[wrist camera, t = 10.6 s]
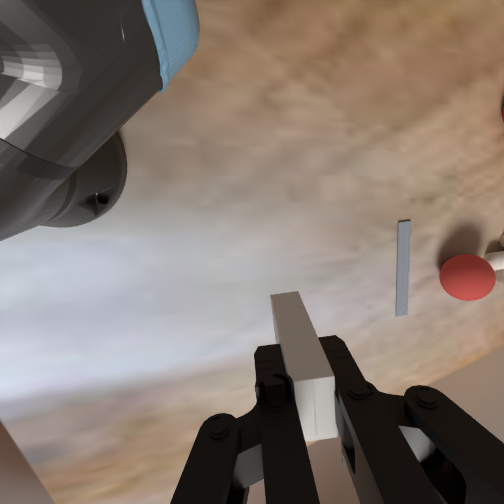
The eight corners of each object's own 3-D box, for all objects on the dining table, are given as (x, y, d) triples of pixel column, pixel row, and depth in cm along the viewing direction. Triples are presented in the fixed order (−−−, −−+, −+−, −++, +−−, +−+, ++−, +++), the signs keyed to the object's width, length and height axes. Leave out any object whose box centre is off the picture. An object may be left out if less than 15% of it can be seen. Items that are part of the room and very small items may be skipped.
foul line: (397, 222, 41) (398, 222, 41) (410, 220, 41) (410, 221, 41) (395, 315, 46) (396, 316, 45) (406, 314, 46) (407, 315, 46)
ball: (489, 246, 41) (437, 246, 43) (509, 268, 36) (449, 267, 38) (480, 286, 44) (432, 284, 46) (498, 311, 39) (442, 308, 40)
